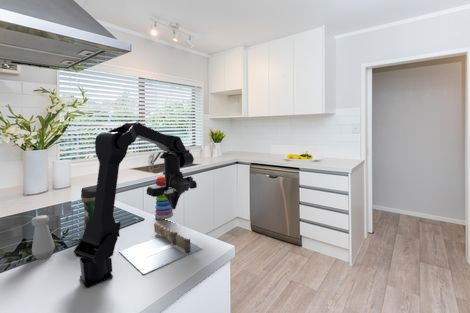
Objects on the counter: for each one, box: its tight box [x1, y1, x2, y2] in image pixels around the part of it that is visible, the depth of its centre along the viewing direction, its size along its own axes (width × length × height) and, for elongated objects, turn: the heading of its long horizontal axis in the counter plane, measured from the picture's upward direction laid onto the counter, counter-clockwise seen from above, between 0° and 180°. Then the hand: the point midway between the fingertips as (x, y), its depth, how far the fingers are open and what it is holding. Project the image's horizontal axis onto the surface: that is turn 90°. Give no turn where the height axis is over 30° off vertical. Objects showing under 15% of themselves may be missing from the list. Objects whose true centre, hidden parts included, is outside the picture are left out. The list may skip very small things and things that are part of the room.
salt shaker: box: [31, 214, 56, 260], centre depth 77 cm, size 6×6×13 cm
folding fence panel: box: [153, 222, 174, 242], centre depth 89 cm, size 12×1×3 cm, turn 46°
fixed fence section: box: [172, 231, 191, 253], centre depth 82 cm, size 2×9×4 cm, turn 45°
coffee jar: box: [80, 184, 97, 232], centre depth 94 cm, size 10×8×19 cm
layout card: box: [118, 235, 202, 276], centre depth 81 cm, size 20×18×1 cm
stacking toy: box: [154, 176, 174, 220], centre depth 110 cm, size 8×8×19 cm
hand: (173, 209), depth 94 cm, fingers closed
